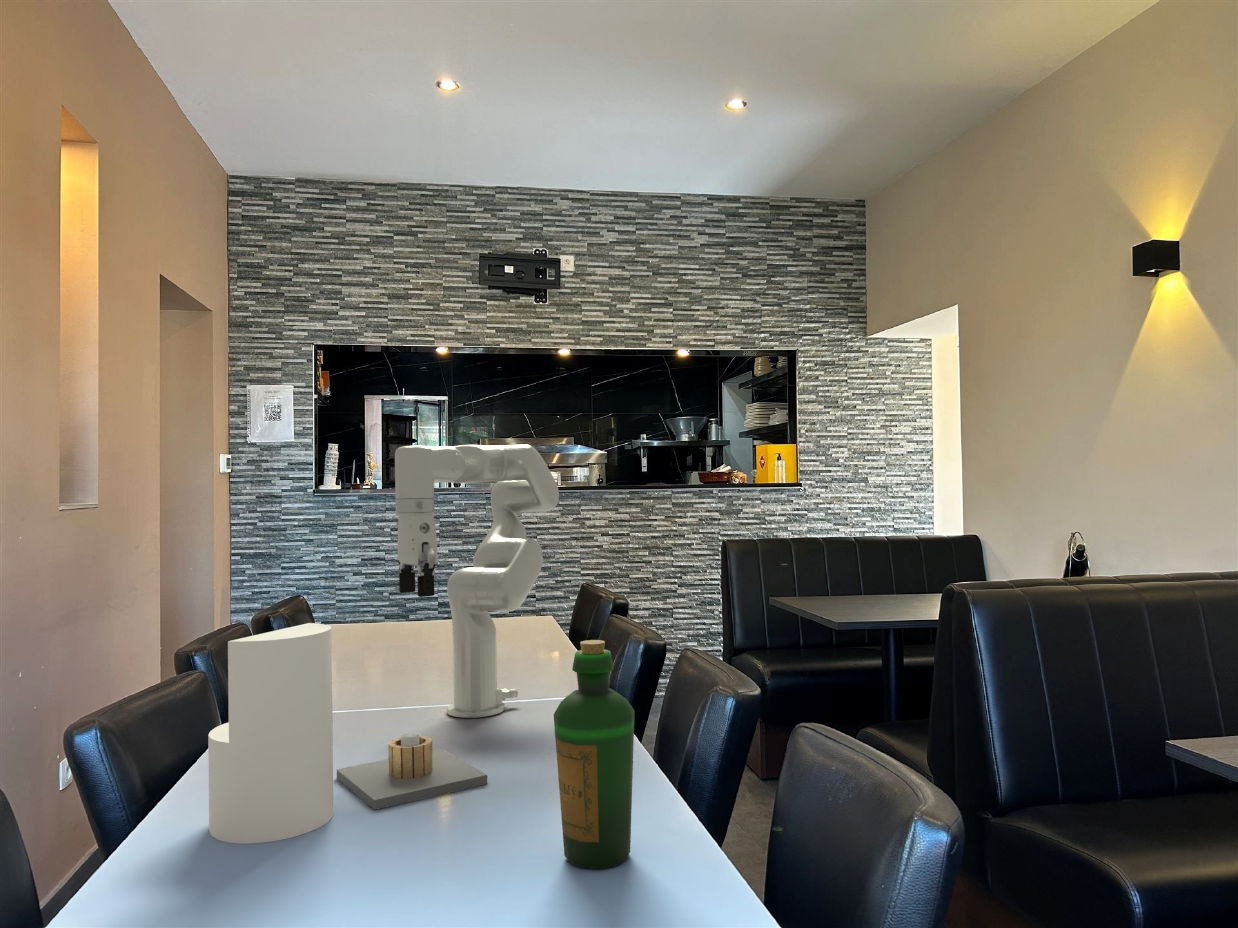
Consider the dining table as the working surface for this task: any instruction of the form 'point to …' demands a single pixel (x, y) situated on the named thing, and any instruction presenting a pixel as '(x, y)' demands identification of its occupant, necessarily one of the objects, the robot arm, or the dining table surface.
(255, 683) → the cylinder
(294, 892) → the dining table surface
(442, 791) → the stand
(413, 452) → the robot arm
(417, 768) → the wooden stave ring
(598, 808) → the bottle
